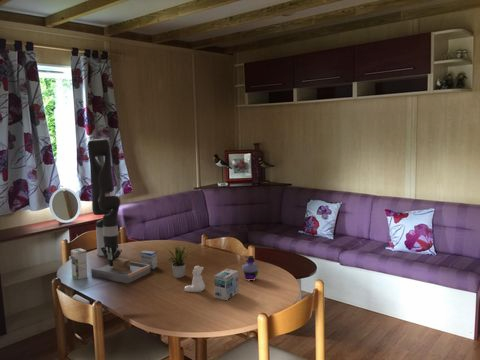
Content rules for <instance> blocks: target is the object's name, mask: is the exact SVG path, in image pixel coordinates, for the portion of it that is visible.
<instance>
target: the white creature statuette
mask: <svg viewBox="0 0 480 360" xmlns="http://www.w3.org/2000/svg"><path fill="white" fill-rule="evenodd" d="M193 267H194V268H193V269H192V272H191V273H192V275H193V276H192V281H191V284H189V285H186V286H184V292H189V293H191V292H192V293H201V292H202V291H204V290H205V288H206V283H205V282H204V280H203V276H202V275H201V274H202V272H203V270H204V266H200V265H195V266H193Z"/></svg>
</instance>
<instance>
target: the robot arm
mask: <svg viewBox="0 0 480 360" xmlns="http://www.w3.org/2000/svg"><path fill="white" fill-rule="evenodd" d="M110 146H111V144H110V142H109V140H108V139H107V138H96V139H90V140H88V142H87V151H88V152H87V153H88V159H89V169H90V170H89V172H90V183H91V193H92V195H91V196H92V198H91V201H92V202H91V203H92V204H91V206H92V207H91V209H92V213H93V215H95V216H102V215H103V216H102V218H101V219H98V220H97V221H96V222H95V232H96V233H95V234H96V235H95V236H96V251H97V254H96V255H97V256H99V257H105V258H107V259H108V264H109V265H110V266H113V260H115V259H118V258H120V255H121V254H122V252H123V249H120V248H119V244H118V243H119V228H118V216H119V215H118V213H119V210H120V209H119V208H120V205H121V199H120V197H119V196H118V195H107V194H110V193H112V192H114V190H115V187H114V182H113V176H112V175H113V173H112V158H111V157H112V156H111V147H110ZM97 157H104V162H103V165H101V164H100V163H99V161H98V160H97ZM106 195H107V196H106Z"/></svg>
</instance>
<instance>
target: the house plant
mask: <svg viewBox="0 0 480 360" xmlns="http://www.w3.org/2000/svg"><path fill="white" fill-rule="evenodd" d="M186 248H187V245H185V246H183V248H182V249H181V248H180V245H175V247H174V250H175V251H174V253H175V254H174V253H173V252H172V251H171V250H170V249H168V248H166V250H167V251H168V252H169V253H170V254H171V255H170V254H169V255H168V256H169V257H168V260H169V262H172V263H171V268H172V272H173V277H174V278H177V279H178V278H183V277H184V276H185V271H186V265H187V264H186V263H185V262H186V260H187V259H188V258H190V255H189V256H188V255H187V254H188V253H189V252H190V250H189V249H191V248H192V249H193V248H194V247H188V248H187V249H186Z"/></svg>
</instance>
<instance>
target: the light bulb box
mask: <svg viewBox="0 0 480 360" xmlns="http://www.w3.org/2000/svg"><path fill="white" fill-rule="evenodd" d="M239 273H240V272H239V270H234V269H231V268H225V269H224V270H222V271H220V272H218V273H216V274H214V299H218V300H222V301H225V300H227V301H228V299H229V298H230V299H231V297H232V296H233V297H235V296H236V295H235V294H236V293H238V292H240V291H239V285H240V284H239V282H240V281H239V279H240V278H239V275H240V274H239ZM234 295H235V296H234ZM233 297H232V298H233ZM230 299H229V300H230Z"/></svg>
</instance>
